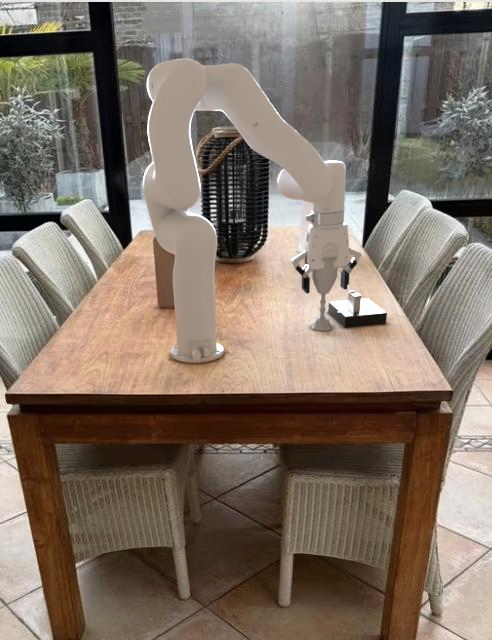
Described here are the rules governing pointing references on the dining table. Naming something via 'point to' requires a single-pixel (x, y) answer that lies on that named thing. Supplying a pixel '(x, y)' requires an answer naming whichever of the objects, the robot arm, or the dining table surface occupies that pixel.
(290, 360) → the dining table surface
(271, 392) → the dining table surface
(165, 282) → the block
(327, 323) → the chalice
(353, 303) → the box with red tab
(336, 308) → the black knob base
